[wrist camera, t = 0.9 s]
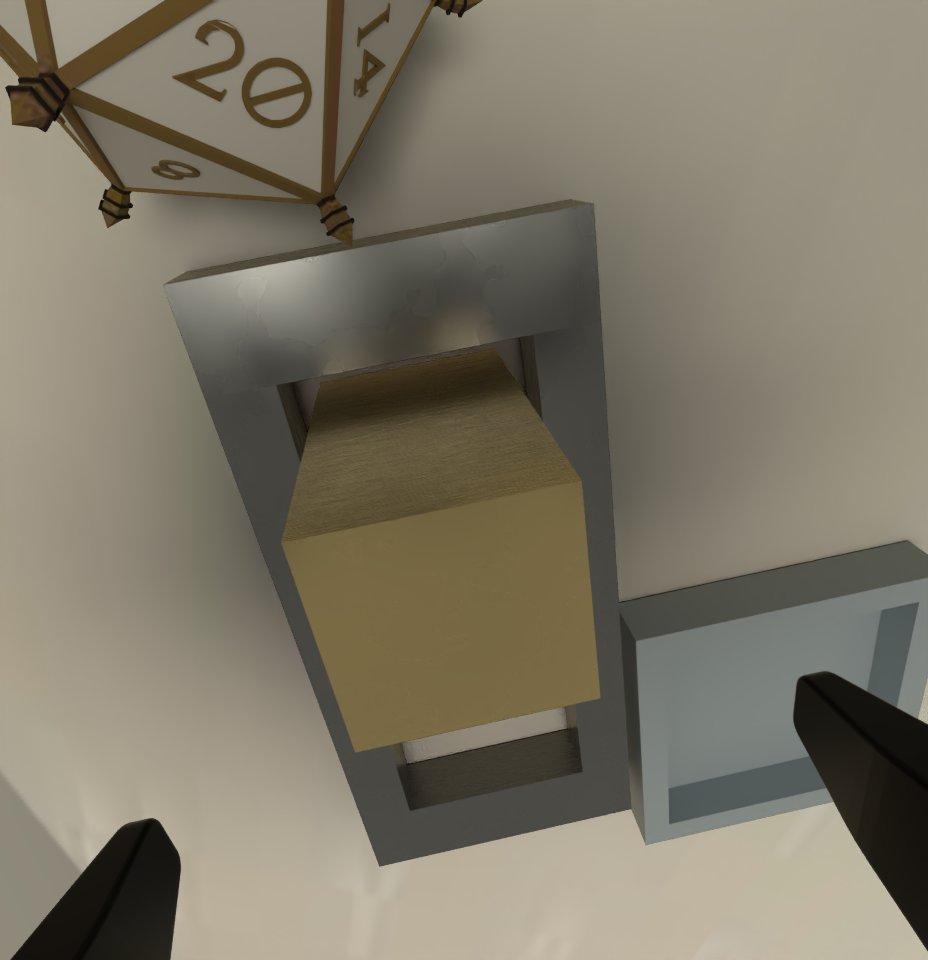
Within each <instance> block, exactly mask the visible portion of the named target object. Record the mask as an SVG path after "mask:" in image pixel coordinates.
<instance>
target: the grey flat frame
mask: <svg viewBox="0 0 928 960" xmlns="http://www.w3.org/2000/svg"><path fill="white" fill-rule="evenodd" d="M163 287H164V290H165V293H166V295H167V298H168V301H169V304H170V306H171V309H172V312H173V314H174V317H175V320H176V322H177V325H178V328H179V330H180V333H181V336H182V338H183V341H184V344H185V346H186V349H187V352H188V354H189V357H190V360H191V363H192V365H193V368H194V371H195V373H196V376H197V379H198V381H199V384H200V387H201V389H202V392H203V395H204V397H205V400H206V403H207V405H208V408H209V411H210V413H211V416H212V419H213V421H214V424H215V427H216V430H217V432H218V435H219V438H220V440H221V443H222V446H223V448H224V451H225V454H226V456H227V459H228V462H229V464H230V467H231V470H232V472H233V475H234V478H235V480H236V483H237V486H238V489H239V491H240V494H241V497H242V499H243V502H244V505H245V507H246V510H247V513H248V515H249V518H250V521H251V523H252V526H253V529H254V531H255V534H256V537H257V539H258V542H259V545H260V548H261V550H262V553H263V556H264V558H265V561H266V564H267V566H268V569H269V572H270V574H271V577H272V580H273V582H274V585H275V588H276V590H277V593H278V596H279V598H280V601H281V604H282V606H283V609H284V612H285V615H286V617H287V620H288V623H289V625H290V628H291V631H292V633H293V636H294V639H295V641H296V644H297V647H298V649H299V652H300V655H301V657H302V660H303V663H304V665H305V668H306V671H307V674H308V676H309V679H310V682H311V684H312V687H313V690H314V692H315V695H316V698H317V700H318V703H319V706H320V708H321V711H322V714H323V716H324V719H325V722H326V724H327V727H328V730H329V732H330V735H331V738H332V741H333V743H334V746H335V749H336V751H337V754H338V757H339V759H340V762H341V765H342V767H343V770H344V773H345V775H346V778H347V781H348V783H349V786H350V789H351V791H352V794H353V797H354V800H355V802H356V805H357V808H358V810H359V813H360V816H361V818H362V821H363V824H364V826H365V829H366V832H367V834H368V837H369V840H370V842H371V845H372V848H373V850H374V853H375V856H376V859H377V861H378V864H379V867H380V866H384V865H389V864H393V863H397V862H402V861H406V860H410V859H415V858H419V857H424V856H428V855H432V854H437V853H441V852H445V851H450V850H454V849H458V848H463V847H467V846H472V845H476V844H480V843H485V842H489V841H493V840H498V839H502V838H507V837H511V836H515V835H520V834H524V833H528V832H533V831H537V830H542V829H546V828H550V827H555V826H559V825H563V824H568V823H572V822H576V821H581V820H585V819H590V818H594V817H598V816H603V815H607V814H611V813H616V812H620V811H625V810H629V809H632V808H631V792H630V776H629V760H628V744H627V728H626V712H625V696H624V680H623V664H622V648H621V631H620V615H619V599H618V583H617V567H616V551H615V535H614V519H613V503H612V487H611V471H610V455H609V439H608V423H607V407H606V391H605V375H604V359H603V343H602V326H601V310H600V294H599V278H598V262H597V246H596V230H595V214H594V204H593V203H587V202H582V201H576V200H565V201H559V202H554V203H549V204H543V205H538V206H533V207H528V208H522V209H517V210H512V211H506V212H501V213H496V214H490V215H485V216H480V217H474V218H469V219H464V220H459V221H453V222H448V223H443V224H437V225H432V226H427V227H421V228H416V229H411V230H405V231H400V232H395V233H390V234H384V235H379V236H374V237H368V238H363V239H358V240H353V248H352V247H350V246H348V245H347V244H345V243H343V242H342V243H336V244H331V245H326V246H321V247H315V248H310V249H305V250H299V251H294V252H289V253H283V254H278V255H273V256H268V257H262V258H257V259H252V260H246V261H241V262H236V263H230V264H225V265H220V266H214V267H209V268H204V269H199V270H193V271H188V272H185V273H183V274H181V275H180V276H178V277H176V278H174V279H173V280H171V281H169V282H167V283H166V284H164V285H163ZM518 337H520V344H521V352H522V360H523V369H524V377H525V385H526V393H527V399H528V400H529V402H530V403H531V405H532V406H533V408H534V409H535V411H536V412H537V414H538V415H539V417H540V418H541V420H542V421H543V423H544V424H545V426H546V427H547V429H548V430H549V432H550V433H551V435H552V437H553V438H554V440H555V441H556V443H557V444H558V446H559V447H560V449H561V450H562V452H563V453H564V455H565V456H566V458H567V459H568V461H569V462H570V464H571V465H572V467H573V468H574V470H575V471H576V473H577V474H578V476H579V477H580V479H581V480H582V490H583V501H584V513H585V524H586V536H587V547H588V559H589V571H590V582H591V594H592V605H593V617H594V628H595V640H596V651H597V663H598V674H599V686H600V699H595V700H591V701H586V702H582V703H577V704H573V705H568V706H565V709H566V717H567V725H568V729H567V730H562V731H558V732H553V733H549V734H544V735H540V736H535V737H531V738H526V739H522V740H517V741H513V742H508V743H504V744H499V745H495V746H490V747H486V748H481V749H477V750H472V751H468V752H463V753H459V754H454V755H450V756H445V757H441V758H436V759H432V760H427V761H423V762H418V763H414V764H409V765H407V762H406V759H405V756H404V752H403V749H402V746H401V743H396V744H392V745H387V746H383V747H378V748H374V749H369V750H365V751H360V752H356V753H355V751H354V748H353V745H352V742H351V739H350V736H349V734H348V731H347V728H346V725H345V722H344V719H343V717H342V714H341V711H340V708H339V705H338V702H337V700H336V697H335V694H334V691H333V688H332V685H331V683H330V680H329V677H328V674H327V671H326V668H325V666H324V663H323V660H322V657H321V654H320V651H319V649H318V646H317V643H316V640H315V637H314V635H313V632H312V629H311V626H310V623H309V620H308V618H307V615H306V612H305V609H304V606H303V603H302V601H301V598H300V595H299V592H298V589H297V586H296V584H295V581H294V578H293V575H292V572H291V569H290V567H289V564H288V561H287V558H286V555H285V552H284V550H283V547H282V544H281V542H282V537H283V533H284V529H285V525H286V521H287V517H288V513H289V509H290V505H291V501H292V497H293V492H294V488H295V484H296V480H297V476H298V472H299V468H300V464H301V460H302V456H303V452H304V447H305V443H306V439H307V435H308V434H307V431H306V428H305V424H304V421H303V418H302V414H301V411H300V408H299V404H298V401H297V398H296V394H295V391H294V388H293V384H292V382H295V381H300V380H305V379H310V378H315V377H320V376H325V375H330V374H335V373H340V372H346V371H351V370H356V369H361V368H366V367H371V366H376V365H381V364H386V363H391V362H396V361H401V360H407V359H412V358H417V357H422V356H427V355H432V354H437V353H442V352H447V351H452V350H457V349H462V348H468V347H473V346H478V345H483V344H488V343H493V342H498V341H503V340H508V339H513V338H518Z"/></svg>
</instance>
